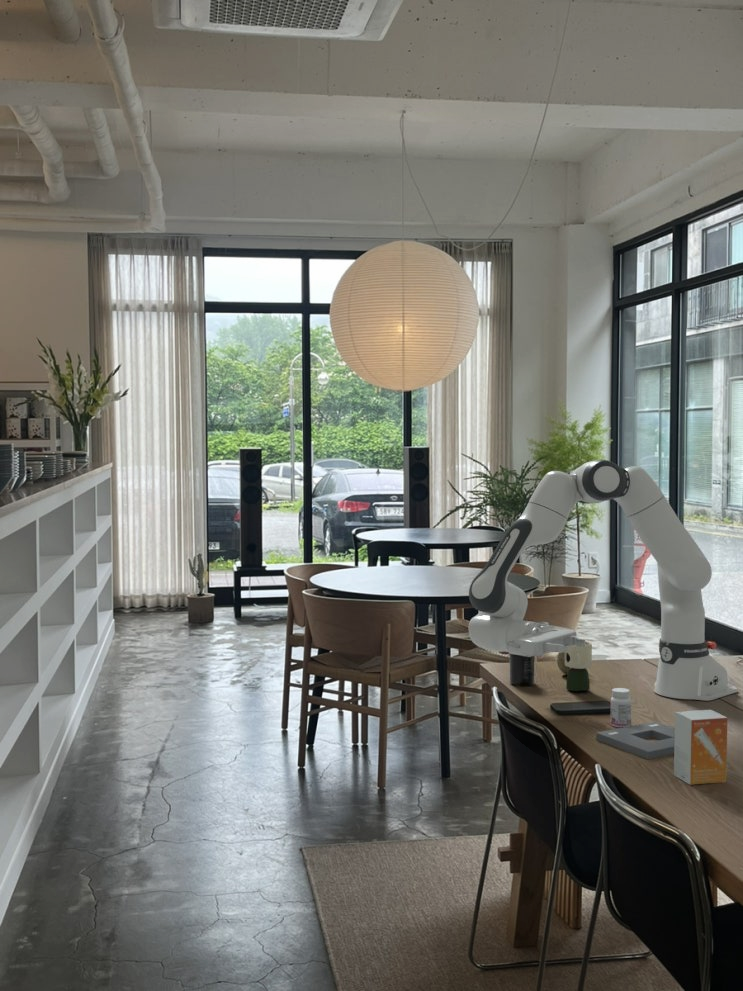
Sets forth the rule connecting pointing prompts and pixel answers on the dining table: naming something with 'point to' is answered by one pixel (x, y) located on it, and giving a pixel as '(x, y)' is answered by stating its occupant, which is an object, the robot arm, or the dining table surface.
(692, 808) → the dining table surface
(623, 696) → the pill bottle
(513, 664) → the supplement bottle
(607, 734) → the socket plate
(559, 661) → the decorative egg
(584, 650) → the character mug
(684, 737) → the small box
